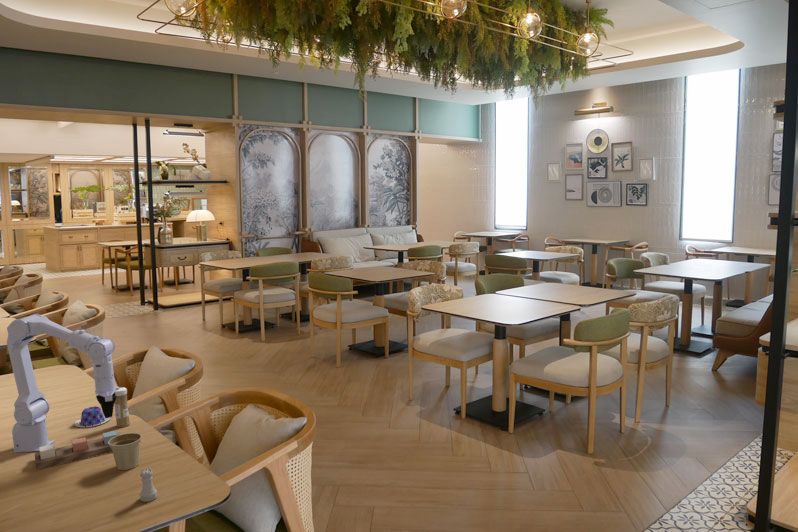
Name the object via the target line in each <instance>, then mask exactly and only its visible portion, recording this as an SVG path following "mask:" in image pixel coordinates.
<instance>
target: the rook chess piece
mask: <svg viewBox="0 0 798 532" xmlns="http://www.w3.org/2000/svg"><path fill="white" fill-rule="evenodd" d="M153 474H154V472H153V470H152V468H150V467H149V468H148V467H147V468H144V469H142V470H141V473H140V474H139V476H140V477H141V478H142V479H141V482H142V487H141V488H142V489H141V491H140V494H139V499H140V501H141V502H143V503H148V502H153V501H154V500H155V499H157V497H158V490H157V489H156V488H155V486H154V483H153V479H154V477H153Z"/></svg>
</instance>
